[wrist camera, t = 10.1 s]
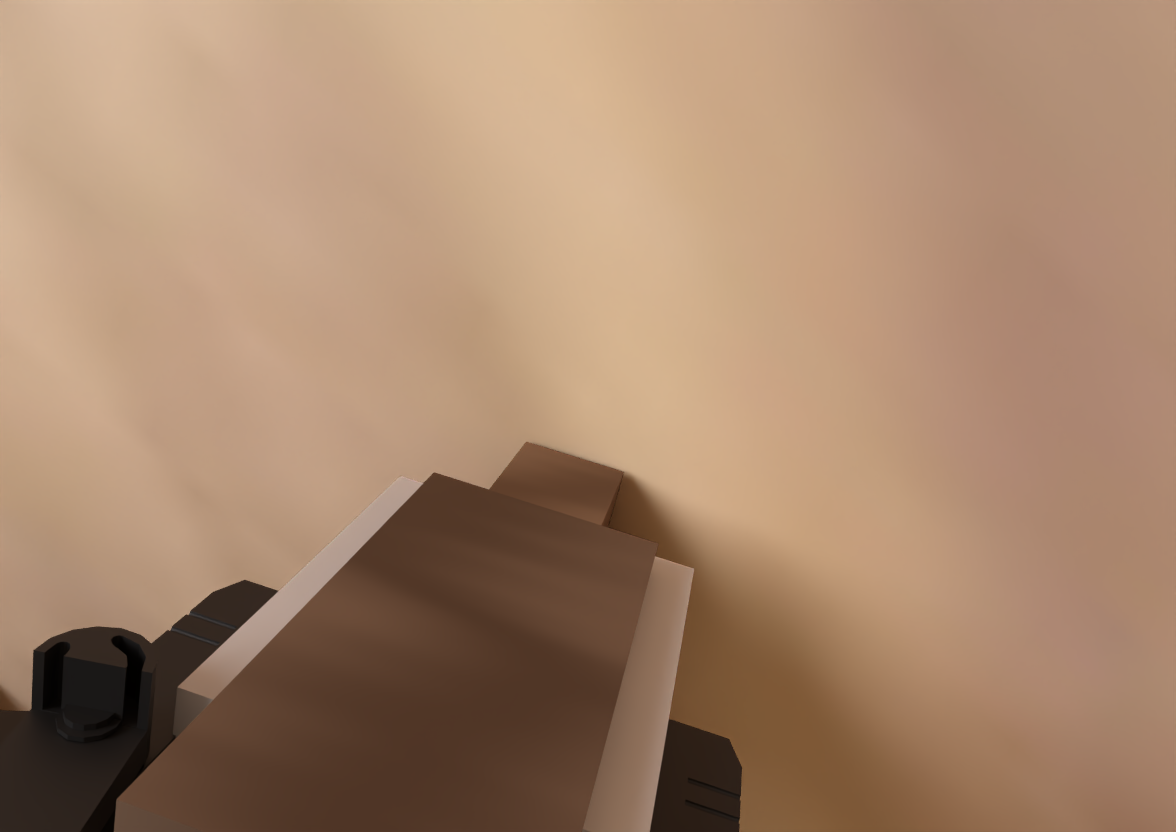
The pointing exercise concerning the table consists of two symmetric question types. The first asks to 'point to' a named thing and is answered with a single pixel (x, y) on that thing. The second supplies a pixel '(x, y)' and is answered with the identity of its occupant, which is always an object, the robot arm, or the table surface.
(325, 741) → the crook
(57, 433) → the table surface
